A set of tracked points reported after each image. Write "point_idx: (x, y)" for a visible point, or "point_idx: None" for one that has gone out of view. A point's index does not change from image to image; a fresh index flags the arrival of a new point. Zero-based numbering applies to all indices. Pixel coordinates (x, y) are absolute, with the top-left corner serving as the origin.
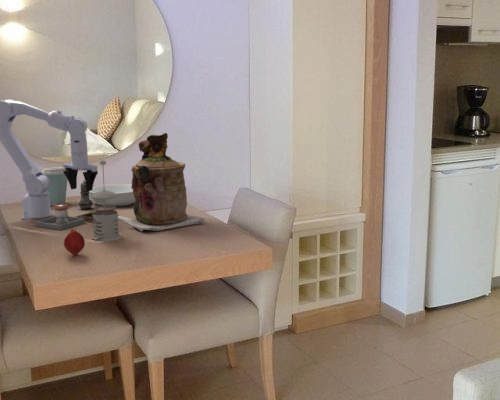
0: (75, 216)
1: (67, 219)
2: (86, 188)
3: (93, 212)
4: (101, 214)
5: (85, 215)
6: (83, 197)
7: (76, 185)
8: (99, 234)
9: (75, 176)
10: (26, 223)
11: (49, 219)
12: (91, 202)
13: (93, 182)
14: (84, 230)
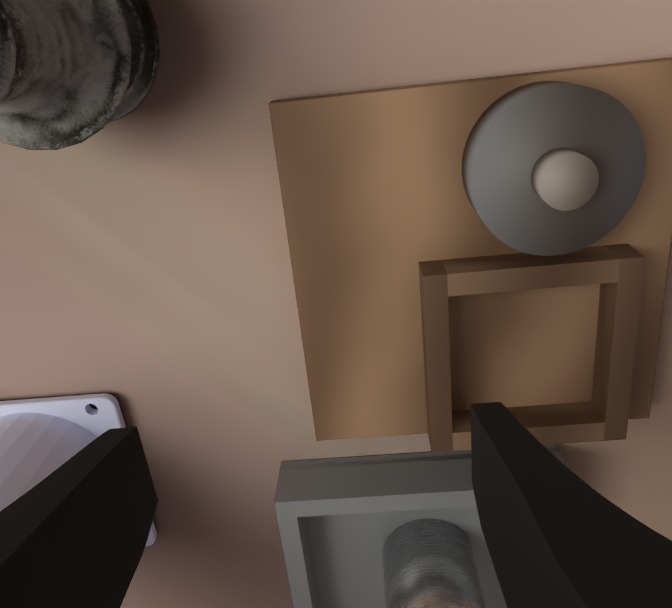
0: (310, 361)
1: (476, 575)
2: (484, 524)
3: (462, 277)
4: (594, 281)
5: (448, 368)
6: (17, 98)
7: (112, 452)
8: None
9: (18, 605)
10: (127, 596)
11: (312, 599)
12: (124, 17)
13: (578, 484)
14: (652, 529)
